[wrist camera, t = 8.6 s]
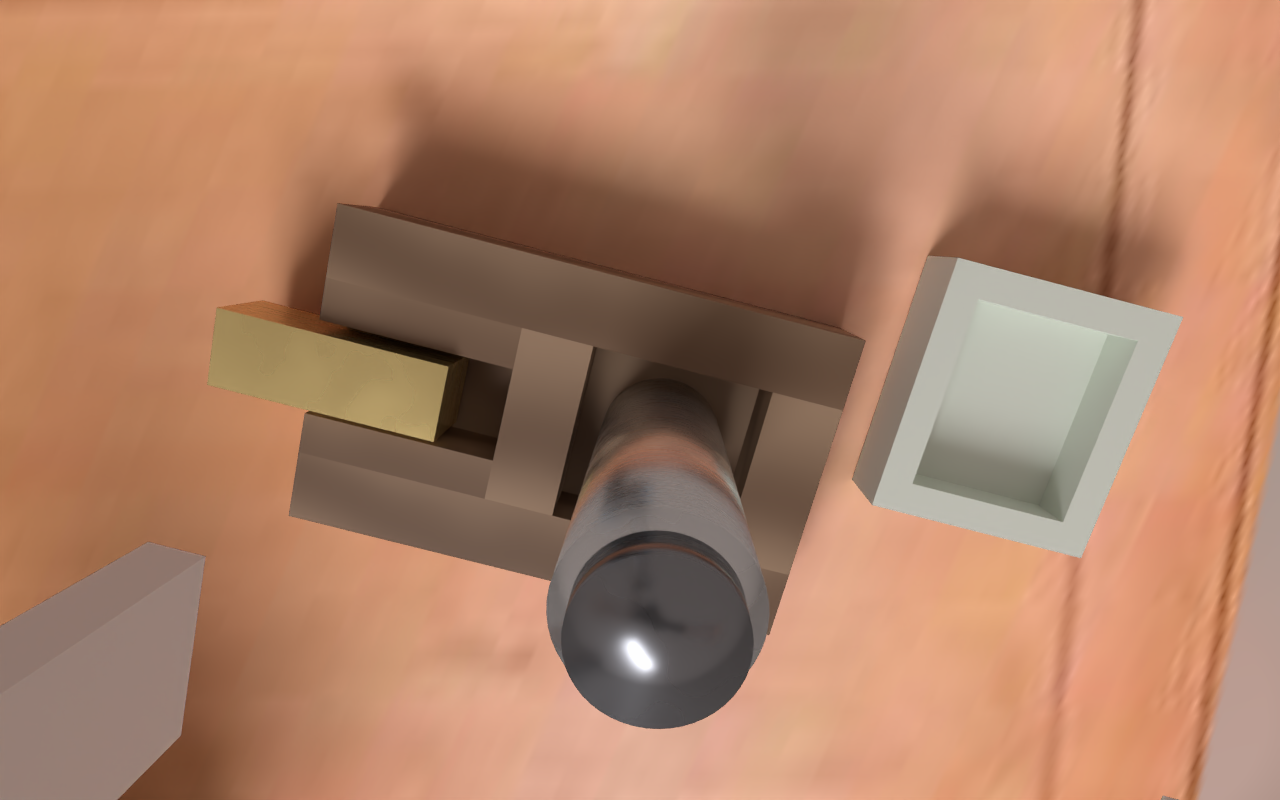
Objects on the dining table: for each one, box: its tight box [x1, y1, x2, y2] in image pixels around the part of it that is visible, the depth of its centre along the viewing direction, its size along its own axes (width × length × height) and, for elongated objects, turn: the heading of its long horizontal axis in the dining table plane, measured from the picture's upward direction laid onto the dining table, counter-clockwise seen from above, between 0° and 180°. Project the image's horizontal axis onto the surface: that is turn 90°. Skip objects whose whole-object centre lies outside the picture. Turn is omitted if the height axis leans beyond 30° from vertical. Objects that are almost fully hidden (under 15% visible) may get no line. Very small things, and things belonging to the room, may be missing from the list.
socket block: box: [289, 203, 865, 635], centre depth 24 cm, size 10×16×3 cm, turn 76°
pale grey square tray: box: [852, 256, 1183, 558], centre depth 24 cm, size 8×7×2 cm
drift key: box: [207, 300, 469, 442], centre depth 23 cm, size 2×7×2 cm, turn 76°
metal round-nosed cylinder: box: [546, 378, 769, 729], centre depth 18 cm, size 4×4×13 cm
